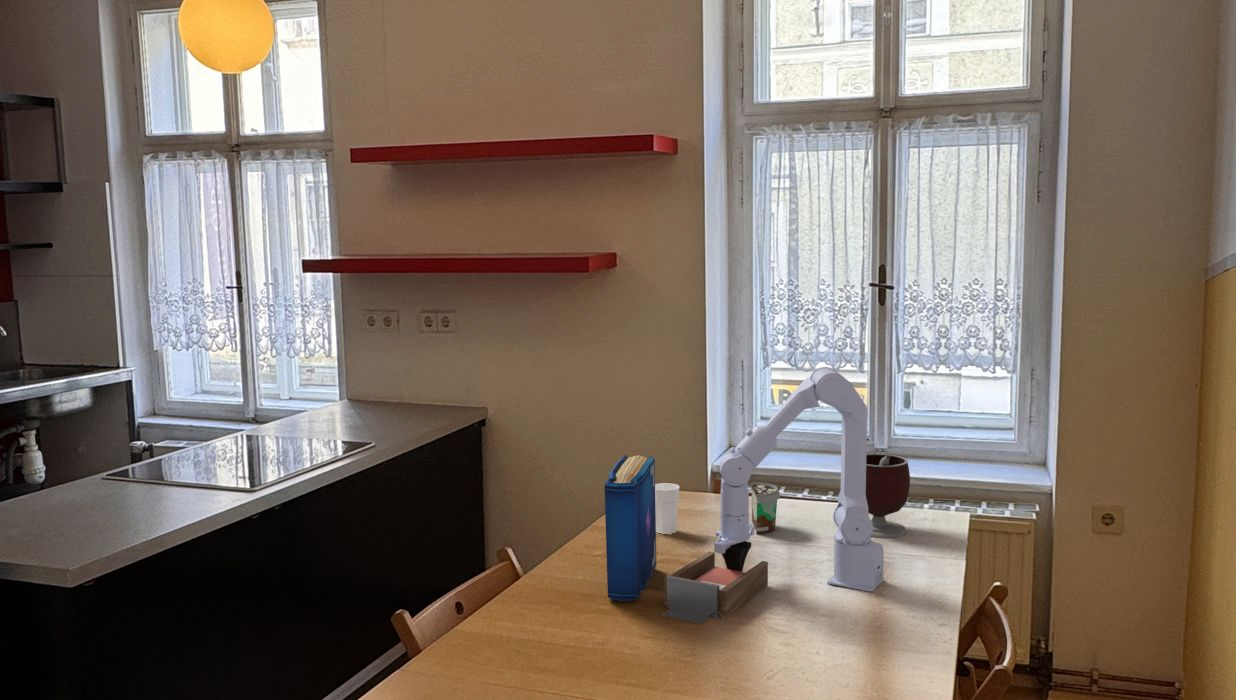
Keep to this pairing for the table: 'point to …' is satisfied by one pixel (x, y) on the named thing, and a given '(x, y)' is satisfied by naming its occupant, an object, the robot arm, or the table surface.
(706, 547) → the table surface
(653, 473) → the book
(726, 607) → the brown wooden drawer
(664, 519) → the cup
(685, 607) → the bookend
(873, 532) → the mate gourd
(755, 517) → the food container
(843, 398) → the robot arm
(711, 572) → the boxed book
